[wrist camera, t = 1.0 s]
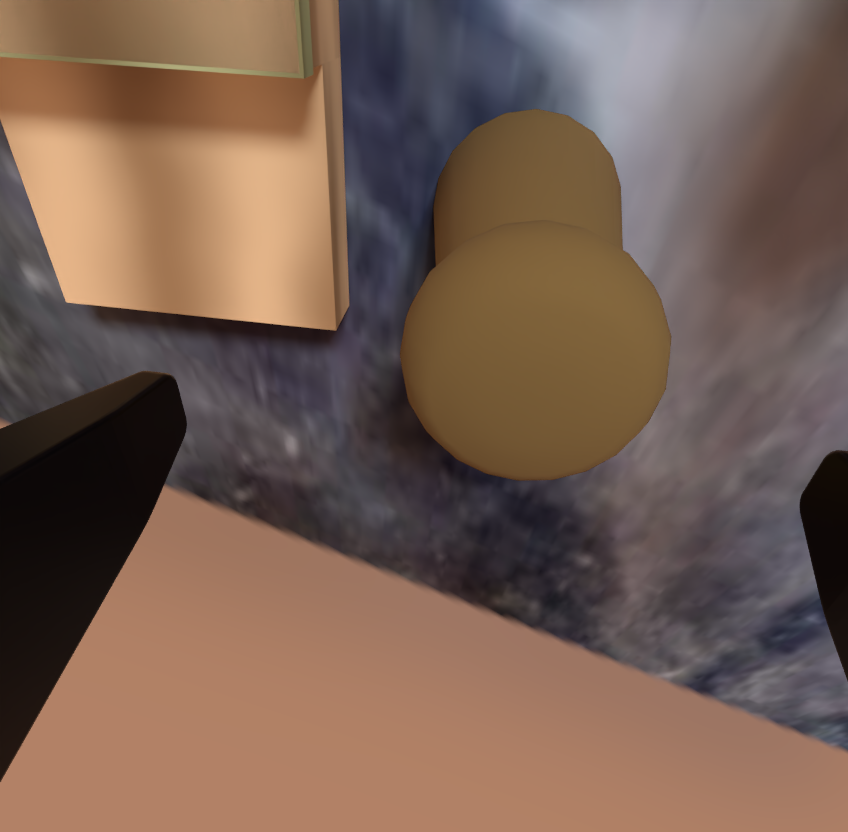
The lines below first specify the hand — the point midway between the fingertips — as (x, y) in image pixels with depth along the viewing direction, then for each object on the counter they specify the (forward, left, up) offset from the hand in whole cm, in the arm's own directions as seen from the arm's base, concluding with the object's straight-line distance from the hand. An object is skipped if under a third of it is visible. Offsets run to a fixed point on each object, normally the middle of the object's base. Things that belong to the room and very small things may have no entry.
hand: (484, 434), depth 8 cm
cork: (-1, +1, -13) cm, 13 cm away
